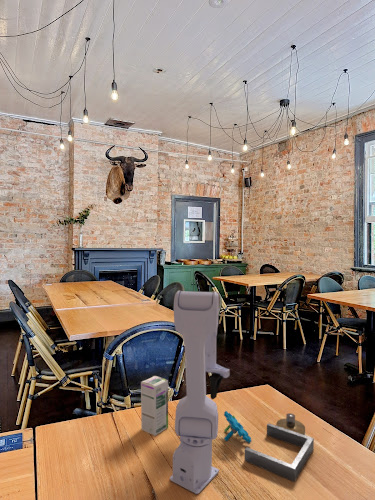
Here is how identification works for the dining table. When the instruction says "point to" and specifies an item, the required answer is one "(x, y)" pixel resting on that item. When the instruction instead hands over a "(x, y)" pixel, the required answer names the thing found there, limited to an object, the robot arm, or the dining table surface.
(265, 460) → the frame
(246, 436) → the gear
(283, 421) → the call bell
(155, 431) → the syrup box
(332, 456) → the dining table surface
